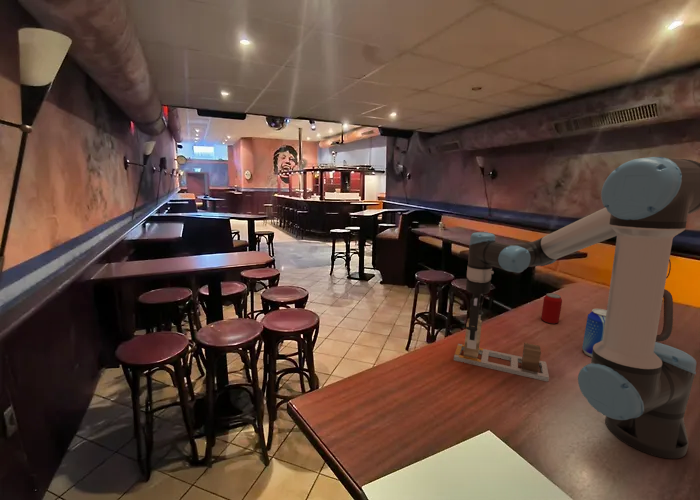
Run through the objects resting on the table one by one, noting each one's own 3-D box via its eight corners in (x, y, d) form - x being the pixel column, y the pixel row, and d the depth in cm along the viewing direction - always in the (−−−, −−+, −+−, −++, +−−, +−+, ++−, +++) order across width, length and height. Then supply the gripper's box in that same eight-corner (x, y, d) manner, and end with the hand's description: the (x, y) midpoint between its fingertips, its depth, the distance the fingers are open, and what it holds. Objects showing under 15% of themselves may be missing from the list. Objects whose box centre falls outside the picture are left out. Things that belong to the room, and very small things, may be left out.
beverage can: (558, 320, 150) (562, 294, 148) (558, 325, 145) (562, 299, 142) (541, 317, 154) (545, 291, 152) (540, 322, 148) (544, 295, 146)
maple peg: (477, 361, 115) (480, 325, 113) (463, 358, 117) (466, 323, 114) (478, 355, 119) (482, 320, 117) (464, 352, 121) (468, 318, 118)
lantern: (619, 331, 140) (635, 248, 133) (671, 348, 127) (692, 256, 120) (607, 338, 134) (624, 251, 127) (661, 356, 121) (683, 260, 114)
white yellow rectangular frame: (548, 381, 104) (549, 376, 104) (453, 360, 116) (454, 355, 115) (545, 366, 113) (546, 361, 113) (457, 347, 125) (458, 343, 124)
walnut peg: (537, 375, 108) (540, 351, 106) (521, 371, 110) (524, 348, 108) (536, 368, 112) (539, 345, 110) (521, 364, 114) (524, 342, 112)
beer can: (615, 362, 117) (624, 318, 113) (588, 359, 118) (595, 315, 115) (602, 350, 125) (610, 308, 121) (577, 347, 126) (584, 306, 123)
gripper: (488, 291, 100) (482, 358, 104) (492, 272, 122) (487, 328, 126) (461, 288, 103) (456, 353, 107) (470, 269, 125) (466, 324, 129)
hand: (473, 339), depth 116 cm, fingers open, 13 cm apart
